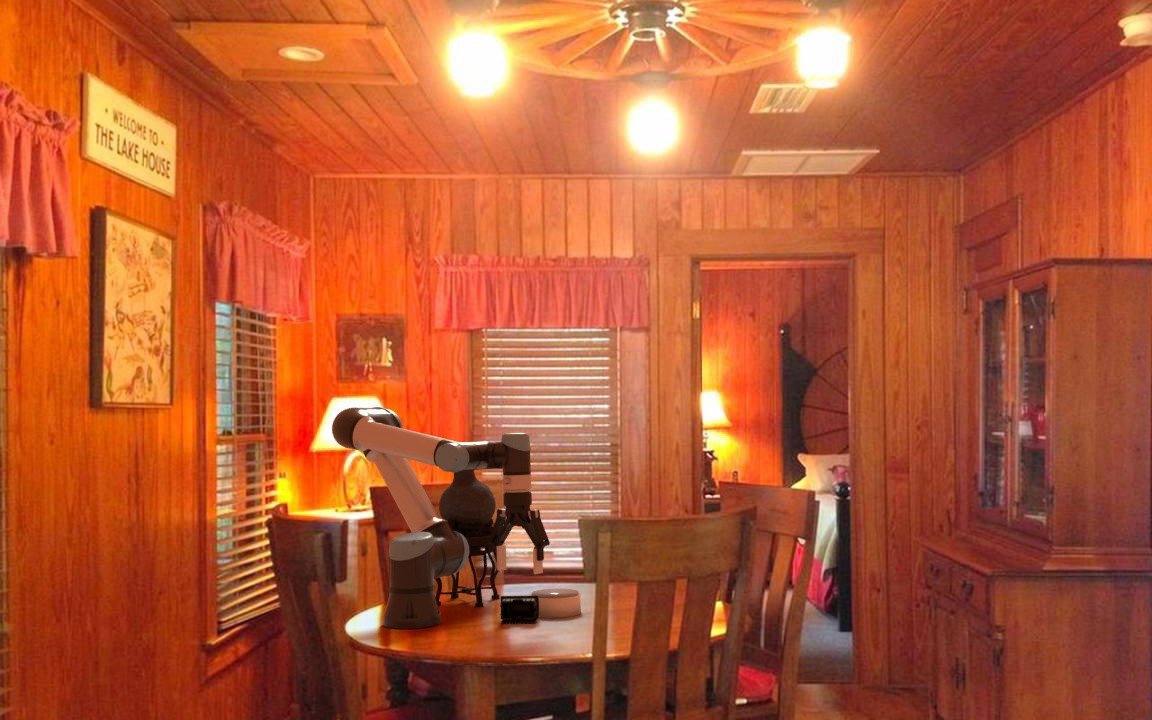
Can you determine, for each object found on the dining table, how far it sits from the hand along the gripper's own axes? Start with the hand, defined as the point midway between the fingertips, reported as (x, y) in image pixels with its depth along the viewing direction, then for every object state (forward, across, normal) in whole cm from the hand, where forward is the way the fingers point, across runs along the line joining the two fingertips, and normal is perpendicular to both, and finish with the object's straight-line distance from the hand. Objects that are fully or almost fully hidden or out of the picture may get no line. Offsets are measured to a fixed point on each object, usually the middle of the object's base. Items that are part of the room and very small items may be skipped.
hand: (519, 571), depth 280 cm
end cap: (+13, 0, 0) cm, 13 cm away
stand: (+13, -2, +15) cm, 20 cm away
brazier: (+13, -36, +13) cm, 40 cm away
